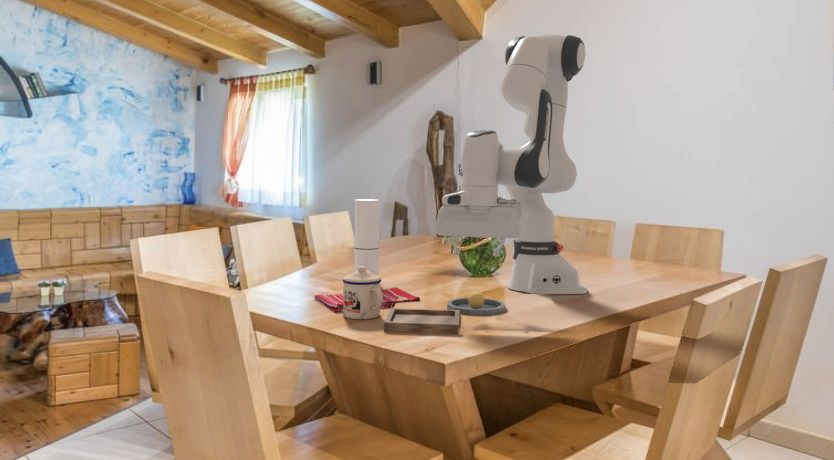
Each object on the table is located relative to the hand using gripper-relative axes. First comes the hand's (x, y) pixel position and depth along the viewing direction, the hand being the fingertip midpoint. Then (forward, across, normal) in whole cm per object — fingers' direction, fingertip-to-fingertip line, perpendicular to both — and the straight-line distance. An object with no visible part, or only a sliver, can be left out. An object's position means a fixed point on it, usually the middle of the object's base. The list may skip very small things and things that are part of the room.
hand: (476, 255), depth 158 cm
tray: (+14, +12, +14) cm, 23 cm away
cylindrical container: (+14, +32, -34) cm, 48 cm away
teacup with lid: (+15, +26, +7) cm, 30 cm away
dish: (+14, 0, 0) cm, 14 cm away
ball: (+13, 0, 0) cm, 13 cm away
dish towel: (+15, +28, -9) cm, 33 cm away
